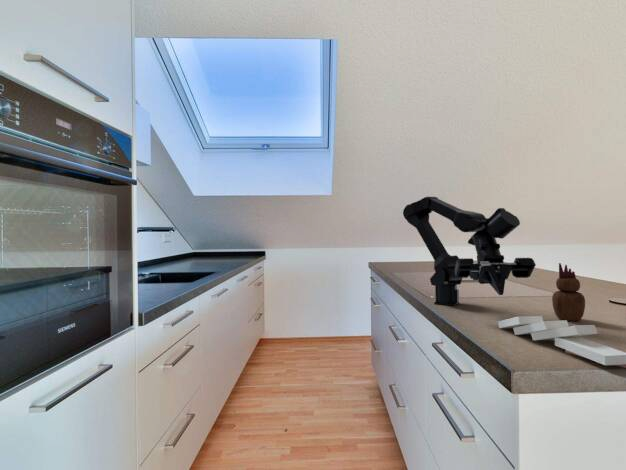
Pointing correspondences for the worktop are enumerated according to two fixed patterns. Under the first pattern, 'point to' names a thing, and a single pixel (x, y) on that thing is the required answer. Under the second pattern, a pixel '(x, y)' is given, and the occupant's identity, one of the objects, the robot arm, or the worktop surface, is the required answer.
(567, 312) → the wooden figurine
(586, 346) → the domino
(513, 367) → the worktop surface
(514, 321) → the domino
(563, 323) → the domino
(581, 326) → the domino
